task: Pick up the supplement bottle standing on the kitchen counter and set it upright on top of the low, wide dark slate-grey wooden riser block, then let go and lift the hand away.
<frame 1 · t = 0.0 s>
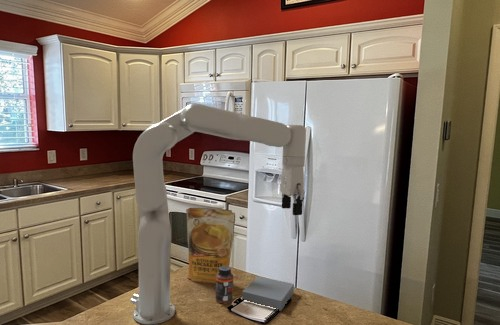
hand: (291, 211, 115), 31 cm above the countertop, tool pointing down, fingers open, 9 cm apart
pancake mix bag: (208, 280, 131), on the countertop
supplement bottle: (224, 300, 116), on the countertop
slate riser block: (268, 297, 119), on the countertop
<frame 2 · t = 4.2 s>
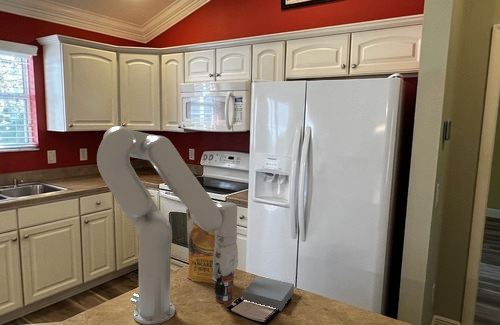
hand: (224, 289, 116), 4 cm above the countertop, tool pointing down, fingers closed on supplement bottle, 6 cm apart
supplement bottle: (224, 300, 116), on the countertop, touching gripper
everything else where it was.
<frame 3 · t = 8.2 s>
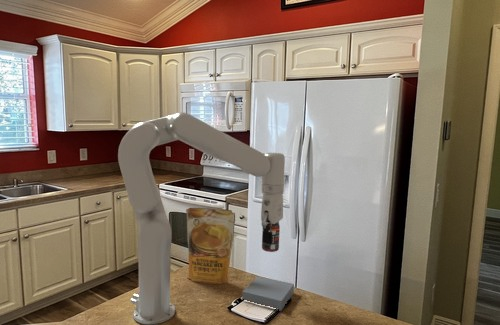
hand: (270, 239, 117), 21 cm above the countertop, tool pointing down, fingers closed on supplement bottle, 5 cm apart
supplement bottle: (270, 250, 117), point 17 cm above the countertop, touching gripper
everything else where it was.
when the fingers open (8 cm above the countertop, at t = 12.4 s): supplement bottle stays where it is, resting on slate riser block.
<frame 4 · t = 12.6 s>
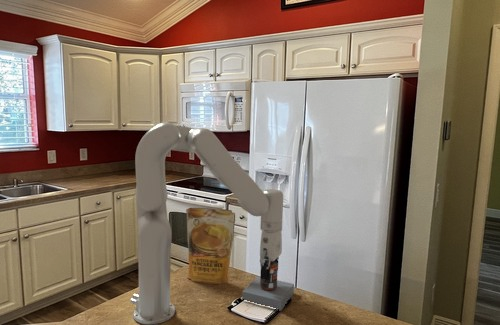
hand: (269, 274, 118), 8 cm above the countertop, tool pointing down, fingers open, 7 cm apart
supplement bottle: (268, 287, 119), point 3 cm above the countertop, touching slate riser block
everything else where it was.
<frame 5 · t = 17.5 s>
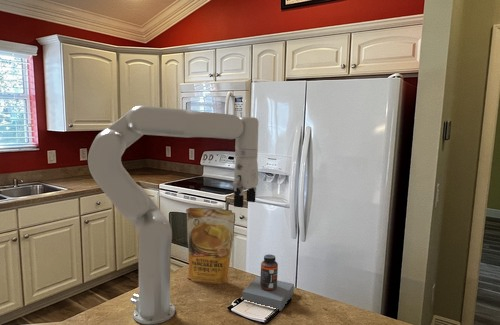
hand: (244, 204, 115), 33 cm above the countertop, tool pointing down, fingers open, 9 cm apart
nothing on the countertop moved.
at the end: supplement bottle inside the target area on the slate riser block (0.2 cm from its centre), point 3.3 cm above the slate riser block's base; supplement bottle tilted 0°; the gripper is holding nothing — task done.
